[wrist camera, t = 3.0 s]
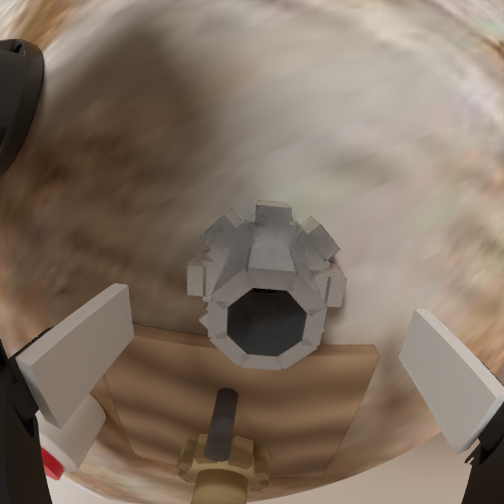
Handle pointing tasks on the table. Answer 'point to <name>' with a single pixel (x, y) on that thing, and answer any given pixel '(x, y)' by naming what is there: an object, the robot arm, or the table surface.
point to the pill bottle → (70, 438)
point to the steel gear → (266, 285)
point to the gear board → (262, 410)
